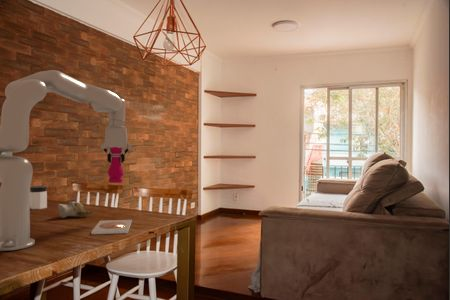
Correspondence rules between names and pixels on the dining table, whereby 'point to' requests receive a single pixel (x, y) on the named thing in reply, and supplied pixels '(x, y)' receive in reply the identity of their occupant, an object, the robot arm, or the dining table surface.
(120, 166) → the pepper mill
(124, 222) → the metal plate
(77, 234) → the dining table surface
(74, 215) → the ceramic sculpture
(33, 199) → the jar
